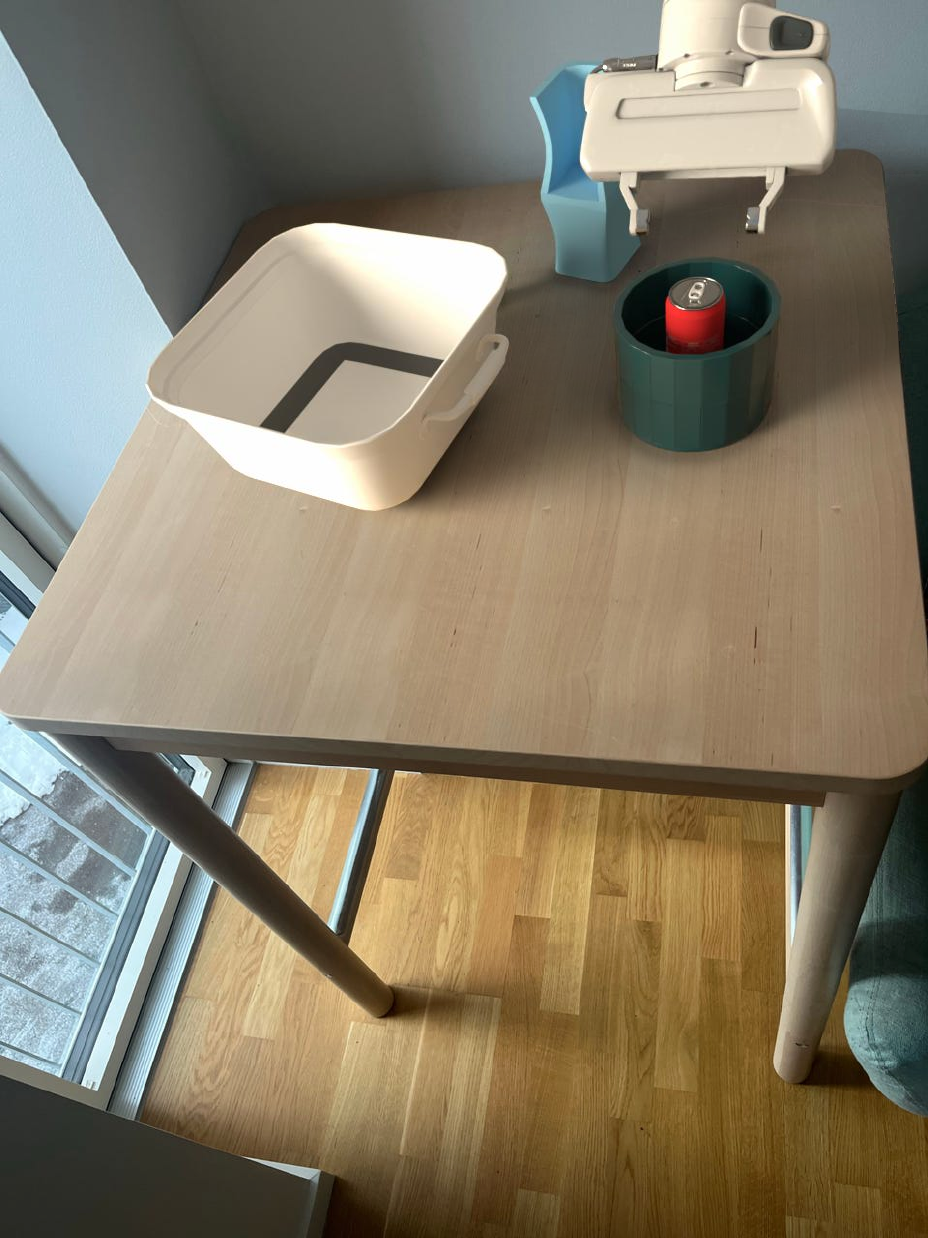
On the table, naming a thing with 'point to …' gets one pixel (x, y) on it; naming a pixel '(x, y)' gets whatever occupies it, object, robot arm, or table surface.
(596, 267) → the vase
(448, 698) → the table surface
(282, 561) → the table surface
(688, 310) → the beverage can
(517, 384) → the table surface
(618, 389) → the enamel pot
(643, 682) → the table surface
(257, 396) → the white storage bin
